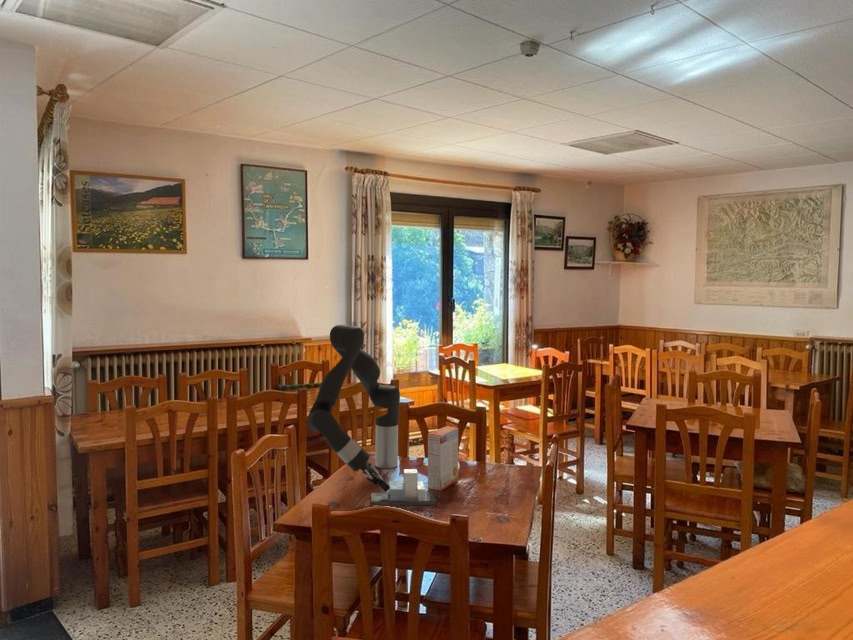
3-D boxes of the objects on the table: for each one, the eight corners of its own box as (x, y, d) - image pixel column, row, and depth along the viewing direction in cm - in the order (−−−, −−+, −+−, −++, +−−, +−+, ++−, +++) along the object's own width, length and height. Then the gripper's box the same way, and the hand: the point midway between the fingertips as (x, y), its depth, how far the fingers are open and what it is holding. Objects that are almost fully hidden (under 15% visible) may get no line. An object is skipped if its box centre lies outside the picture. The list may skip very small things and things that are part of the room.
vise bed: (371, 497, 223) (371, 482, 222) (433, 495, 225) (433, 480, 225) (371, 506, 214) (371, 490, 213) (436, 504, 216) (436, 489, 216)
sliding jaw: (388, 492, 223) (388, 481, 223) (403, 491, 224) (403, 480, 224) (390, 501, 214) (390, 489, 214) (404, 500, 215) (404, 489, 215)
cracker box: (444, 478, 245) (445, 425, 243) (458, 481, 241) (459, 427, 240) (426, 488, 233) (427, 432, 231) (440, 491, 229) (441, 435, 228)
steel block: (403, 494, 222) (403, 469, 221) (416, 494, 222) (416, 469, 222) (404, 498, 217) (404, 473, 217) (417, 498, 218) (417, 472, 217)
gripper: (360, 452, 210) (396, 487, 212) (360, 441, 223) (394, 475, 225) (344, 467, 210) (380, 503, 212) (345, 456, 223) (379, 490, 225)
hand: (387, 489), depth 219 cm, fingers closed
